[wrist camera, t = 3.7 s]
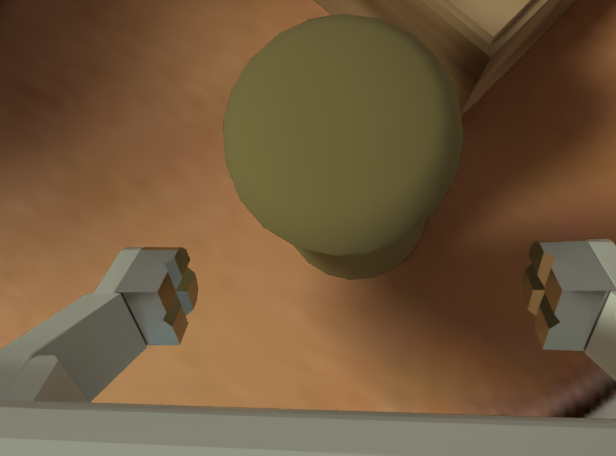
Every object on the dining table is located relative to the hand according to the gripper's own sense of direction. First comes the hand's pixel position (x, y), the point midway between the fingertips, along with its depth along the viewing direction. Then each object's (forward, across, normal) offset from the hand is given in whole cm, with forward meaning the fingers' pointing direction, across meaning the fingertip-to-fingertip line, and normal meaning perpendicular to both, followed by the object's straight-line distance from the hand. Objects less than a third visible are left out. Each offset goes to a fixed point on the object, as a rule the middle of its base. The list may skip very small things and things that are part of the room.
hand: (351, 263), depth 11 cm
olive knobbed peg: (+8, 0, +4) cm, 9 cm away
